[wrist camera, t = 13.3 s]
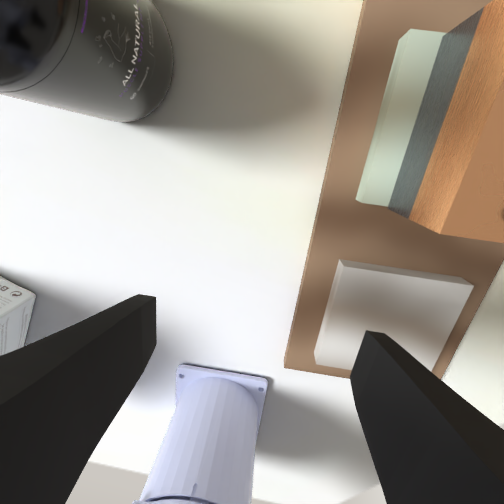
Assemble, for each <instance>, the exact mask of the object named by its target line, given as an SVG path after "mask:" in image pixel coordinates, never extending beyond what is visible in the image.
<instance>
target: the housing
mask: <svg viewBox="0 0 504 504" xmlns="http://www.w3.org/2000/svg"><path fill="white" fill-rule="evenodd" d="M387 209H389V210H391V211H393V212H395V213H397V214H399V215H401V216H403V217H405V218H407V219H409V220H412V221H414V222H416V223H418V224H420V225H422V226H424V227H426V228H428V229H430V230H432V231H435V232H437V233H439V234H443V235H450V236H457V237H464V238H471V239H478V240H485V241H492V242H499V243H504V0H493V1H491V2H490V3H488V4H487V5H486V6H484V7H483V8H481V9H480V10H479V11H477V12H476V13H474V14H473V15H472V16H470V17H469V18H467V19H466V20H465V21H463V22H462V23H460V24H459V25H458V26H456V27H455V28H453V29H452V30H451V31H449V32H448V33H446V34H445V35H444V36H443V37H442V40H441V43H440V46H439V49H438V52H437V56H436V59H435V62H434V65H433V68H432V71H431V74H430V77H429V80H428V84H427V87H426V90H425V93H424V96H423V99H422V102H421V105H420V108H419V112H418V115H417V118H416V121H415V124H414V127H413V130H412V133H411V136H410V140H409V143H408V146H407V149H406V152H405V155H404V158H403V161H402V164H401V168H400V171H399V174H398V177H397V180H396V183H395V186H394V189H393V192H392V196H391V199H390V202H389V205H388V208H387Z"/></svg>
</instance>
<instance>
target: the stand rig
mask: <svg viewBox="0 0 504 504" xmlns="http://www.w3.org/2000/svg"><path fill="white" fill-rule="evenodd" d="M491 1H493V0H363V4H362V9H361V13H360V18H359V22H358V27H357V31H356V36H355V41H354V45H353V50H352V54H351V59H350V63H349V68H348V72H347V77H346V81H345V86H344V90H343V95H342V99H341V104H340V108H339V113H338V118H337V122H336V127H335V131H334V136H333V140H332V145H331V149H330V154H329V158H328V163H327V167H326V172H325V176H324V181H323V185H322V190H321V194H320V199H319V204H318V208H317V213H316V217H315V222H314V226H313V231H312V235H311V240H310V244H309V249H308V253H307V258H306V262H305V267H304V271H303V276H302V281H301V285H300V290H299V294H298V299H297V303H296V308H295V312H294V317H293V321H292V326H291V330H290V335H289V339H288V344H287V348H286V353H285V357H284V368H288V369H294V370H300V371H306V372H312V373H318V374H324V375H330V376H336V377H342V378H348V379H350V374H351V371H352V368H353V366H354V363H355V360H356V357H357V354H358V351H359V349H360V346H361V343H362V340H363V337H364V334H365V331H366V330H368V331H374V332H380V333H385V334H386V335H388V336H389V337H390V338H392V339H393V340H394V341H395V342H397V343H398V344H399V345H400V346H401V347H403V348H404V349H405V350H406V351H407V352H409V353H410V354H411V355H412V356H413V357H414V358H416V359H417V360H418V361H419V362H420V363H421V364H423V365H424V366H425V367H426V368H427V369H428V370H430V371H431V372H432V373H433V374H434V375H436V376H437V377H438V378H439V379H440V380H441V378H442V376H443V374H444V372H445V370H446V368H447V366H448V364H449V363H450V361H451V359H452V357H453V355H454V353H455V351H456V349H457V347H458V345H459V344H460V342H461V340H462V338H463V336H464V334H465V332H466V330H467V328H468V326H469V325H470V323H471V321H472V319H473V317H474V315H475V313H476V311H477V309H478V307H479V306H480V304H481V302H482V300H483V298H484V296H485V294H486V292H487V290H488V288H489V287H490V285H491V283H492V281H493V279H494V277H495V275H496V273H497V271H498V269H499V267H500V266H501V264H502V262H503V260H504V243H499V242H492V241H485V240H478V239H471V238H464V237H457V236H450V235H443V234H439V233H437V232H435V231H432V230H430V229H428V228H426V227H424V226H422V225H420V224H418V223H416V222H414V221H412V220H409V219H407V218H405V217H403V216H401V215H399V214H397V213H395V212H393V211H391V210H389V209H387V208H388V205H389V202H390V199H391V196H392V192H393V189H394V186H395V183H396V180H397V177H398V174H399V171H400V168H401V164H402V161H403V158H404V155H405V152H406V149H407V146H408V143H409V140H410V136H411V133H412V130H413V127H414V124H415V121H416V118H417V115H418V112H419V108H420V105H421V102H422V99H423V96H424V93H425V90H426V87H427V84H428V80H429V77H430V74H431V71H432V68H433V65H434V62H435V59H436V56H437V52H438V49H439V46H440V43H441V40H442V37H443V36H444V35H445V34H446V33H448V32H449V31H451V30H452V29H453V28H455V27H456V26H458V25H459V24H460V23H462V22H463V21H465V20H466V19H467V18H469V17H470V16H472V15H473V14H474V13H476V12H477V11H479V10H480V9H481V8H483V7H484V6H486V5H487V4H488V3H490V2H491Z"/></svg>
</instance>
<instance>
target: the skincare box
mask: <svg viewBox="0 0 504 504" xmlns="http://www.w3.org/2000/svg"><path fill="white" fill-rule="evenodd" d="M35 298H36V295H35V294H34V293H33V292H31V291H29V290H27V289H24V288H22V287H20V286H18V285H16V284H14V283H12V282H10V281H8V280H6V279H4V278H3V277H1V276H0V356H1V355H4V354H6V353H9V352H12V351H14V350H17V349H19V348H22V347H24V343H25V339H26V335H27V330H28V327H29V323H30V319H31V314H32V309H33V305H34V301H35Z"/></svg>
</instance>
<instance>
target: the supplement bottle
mask: <svg viewBox="0 0 504 504" xmlns="http://www.w3.org/2000/svg"><path fill="white" fill-rule="evenodd" d="M172 72H173V52H172V45H171V41H170V37H169V33H168V30H167V28H166V25H165V23H164V21H163V19H162V17H161V15H160V13H159V12H158V10H157V8H156V7H155V5H154V4H153V3H152V1H151V0H0V94H2V95H6V96H10V97H14V98H18V99H22V100H26V101H31V102H35V103H39V104H43V105H47V106H51V107H55V108H60V109H64V110H68V111H72V112H76V113H80V114H84V115H88V116H93V117H97V118H101V119H106V120H110V121H116V122H131V121H136V120H139V119H141V118H143V117H145V116H147V115H149V114H150V113H152V112H153V111H154V110H155V109H156V108H157V107H158V106H159V105H160V103H161V102H162V101H163V99H164V97H165V95H166V93H167V91H168V89H169V86H170V82H171V78H172Z"/></svg>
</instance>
